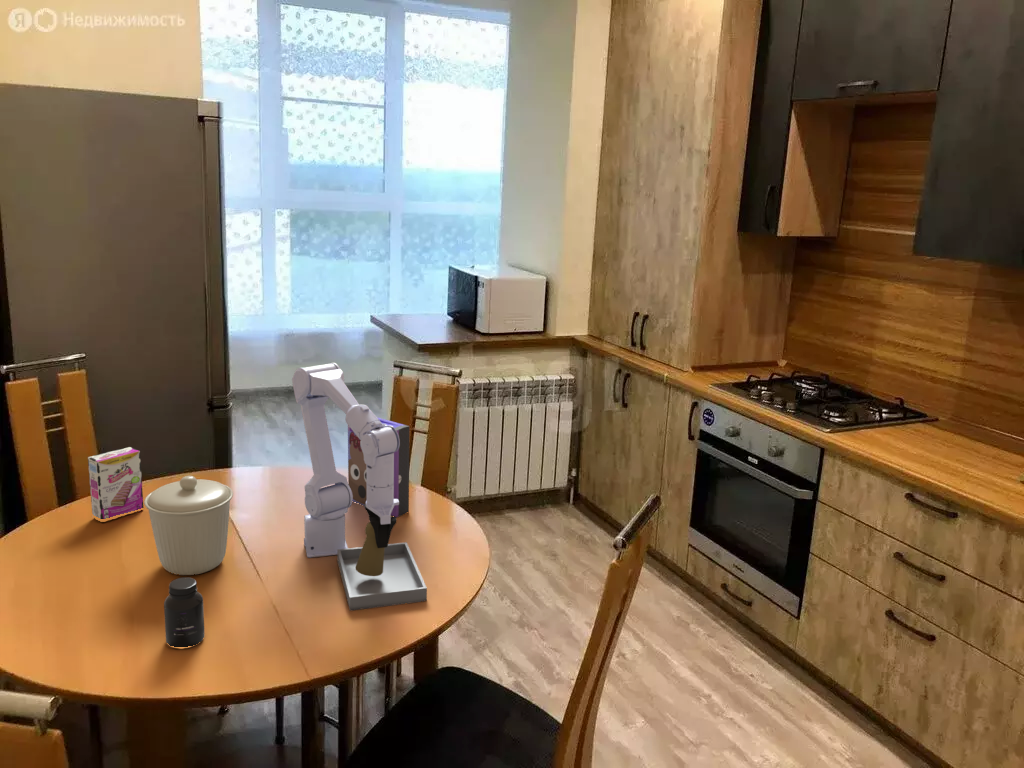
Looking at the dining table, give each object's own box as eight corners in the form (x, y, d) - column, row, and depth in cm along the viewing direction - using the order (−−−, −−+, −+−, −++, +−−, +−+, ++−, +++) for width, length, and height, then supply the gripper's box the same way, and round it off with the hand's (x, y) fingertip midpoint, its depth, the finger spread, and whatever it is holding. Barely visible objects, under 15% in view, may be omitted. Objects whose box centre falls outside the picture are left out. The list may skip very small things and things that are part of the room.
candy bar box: (102, 524, 199) (96, 461, 195) (92, 518, 202) (85, 456, 198) (145, 510, 208) (140, 450, 204) (134, 505, 211) (129, 445, 207)
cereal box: (348, 500, 220) (347, 415, 213) (361, 495, 223) (360, 411, 217) (396, 517, 210) (396, 429, 204) (408, 512, 214) (409, 425, 208)
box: (349, 610, 166) (349, 597, 165) (337, 561, 186) (337, 549, 185) (426, 600, 171) (426, 588, 170) (406, 553, 191) (406, 542, 190)
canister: (135, 563, 181) (128, 475, 176) (212, 539, 194) (207, 456, 189) (172, 593, 169) (165, 499, 164) (251, 565, 182) (247, 478, 177)
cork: (360, 576, 173) (369, 528, 171) (351, 563, 178) (361, 516, 176) (386, 576, 176) (396, 529, 174) (377, 563, 181) (387, 517, 179)
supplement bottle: (181, 654, 149) (177, 596, 146) (158, 642, 152) (153, 585, 149) (213, 637, 154) (209, 581, 151) (189, 626, 158) (186, 570, 155)
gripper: (405, 494, 167) (404, 554, 170) (392, 469, 180) (392, 525, 184) (370, 497, 165) (371, 557, 168) (360, 471, 178) (361, 528, 182)
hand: (380, 541), depth 176 cm, fingers closed on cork, 5 cm apart
